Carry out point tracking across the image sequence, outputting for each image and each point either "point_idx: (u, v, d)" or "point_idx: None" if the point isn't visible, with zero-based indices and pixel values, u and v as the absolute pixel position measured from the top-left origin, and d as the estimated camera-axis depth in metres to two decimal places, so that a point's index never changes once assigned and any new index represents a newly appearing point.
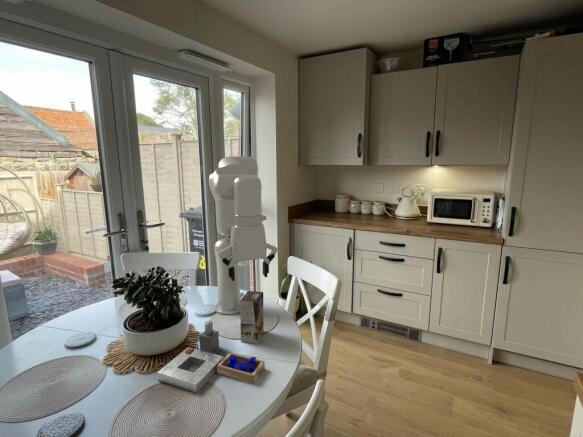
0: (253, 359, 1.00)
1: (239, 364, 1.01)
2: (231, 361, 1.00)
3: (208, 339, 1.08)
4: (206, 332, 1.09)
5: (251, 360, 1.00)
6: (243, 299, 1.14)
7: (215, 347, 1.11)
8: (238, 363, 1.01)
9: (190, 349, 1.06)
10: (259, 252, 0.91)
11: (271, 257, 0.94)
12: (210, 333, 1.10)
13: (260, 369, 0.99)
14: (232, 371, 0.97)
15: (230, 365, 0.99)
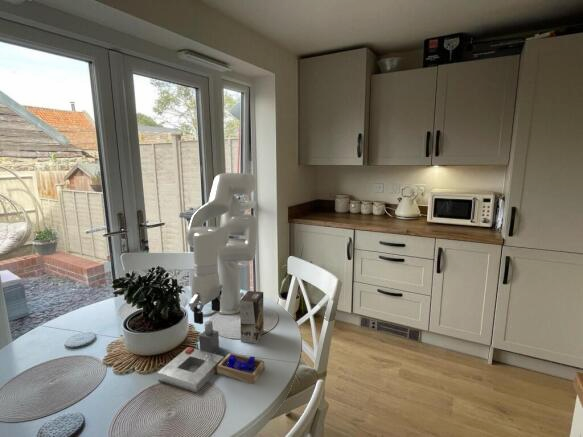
0: (252, 359, 1.00)
1: (238, 363, 1.01)
2: (230, 360, 1.01)
3: (208, 339, 1.08)
4: (206, 332, 1.09)
5: (250, 359, 1.00)
6: (243, 299, 1.14)
7: (215, 347, 1.11)
8: (237, 363, 1.02)
9: (190, 349, 1.06)
10: (217, 292, 1.09)
11: (220, 293, 1.14)
12: (210, 333, 1.09)
13: (260, 369, 0.99)
14: (232, 371, 0.97)
15: (229, 364, 1.00)
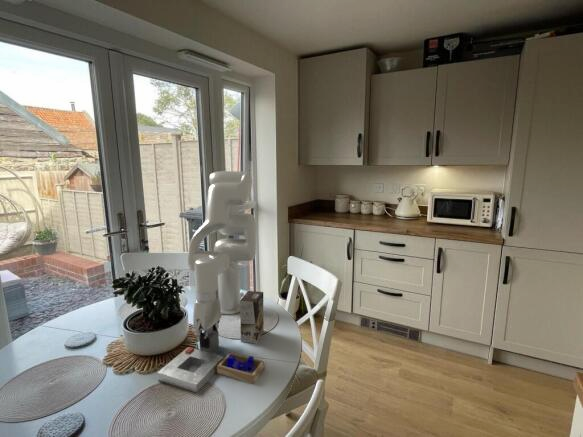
0: (251, 358, 1.00)
1: (237, 363, 1.02)
2: (229, 360, 1.01)
3: None
4: None
5: (249, 359, 1.00)
6: (243, 299, 1.14)
7: (215, 347, 1.11)
8: (236, 362, 1.02)
9: (190, 349, 1.06)
10: (218, 316, 1.11)
11: (218, 322, 1.14)
12: (210, 333, 1.09)
13: (260, 369, 0.99)
14: (232, 371, 0.97)
15: (228, 364, 1.00)
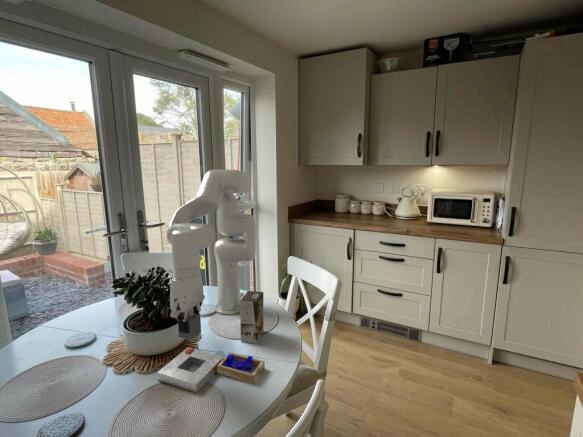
0: (250, 358, 1.01)
1: (235, 362, 1.02)
2: (228, 360, 1.01)
3: (188, 323, 0.94)
4: None
5: (247, 359, 1.00)
6: (243, 299, 1.14)
7: (196, 332, 0.97)
8: (235, 362, 1.02)
9: (190, 349, 1.06)
10: (200, 297, 0.97)
11: (200, 304, 1.00)
12: (190, 316, 0.95)
13: (260, 369, 0.99)
14: (232, 371, 0.97)
15: (227, 364, 1.00)
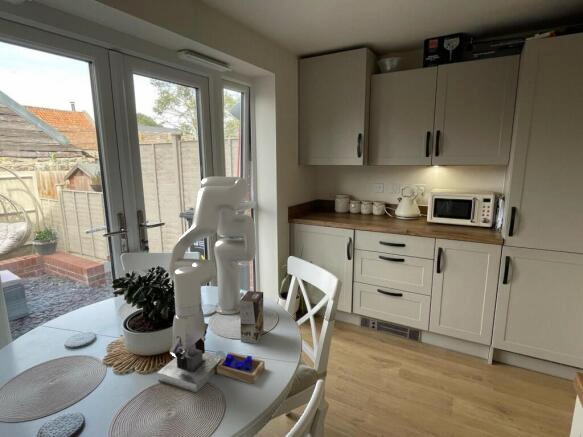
0: (249, 358, 1.01)
1: (235, 362, 1.02)
2: (227, 359, 1.01)
3: (190, 360, 0.96)
4: (188, 352, 0.98)
5: (247, 359, 1.00)
6: (243, 299, 1.14)
7: None
8: (234, 362, 1.02)
9: None
10: (201, 332, 0.99)
11: (204, 333, 1.03)
12: (192, 353, 0.98)
13: (260, 369, 0.99)
14: (232, 371, 0.97)
15: (226, 363, 1.00)
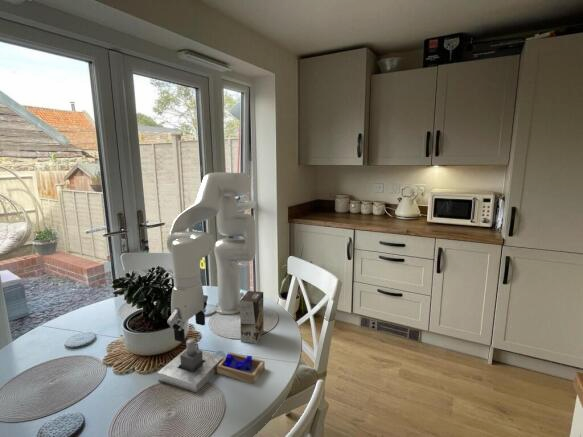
0: (249, 358, 1.01)
1: (235, 362, 1.02)
2: (227, 359, 1.01)
3: (190, 360, 0.96)
4: (188, 352, 0.98)
5: (247, 359, 1.00)
6: (243, 299, 1.14)
7: None
8: (234, 362, 1.02)
9: None
10: (200, 305, 0.98)
11: (205, 305, 1.02)
12: (192, 353, 0.98)
13: (260, 369, 0.99)
14: (232, 371, 0.97)
15: (226, 363, 1.00)
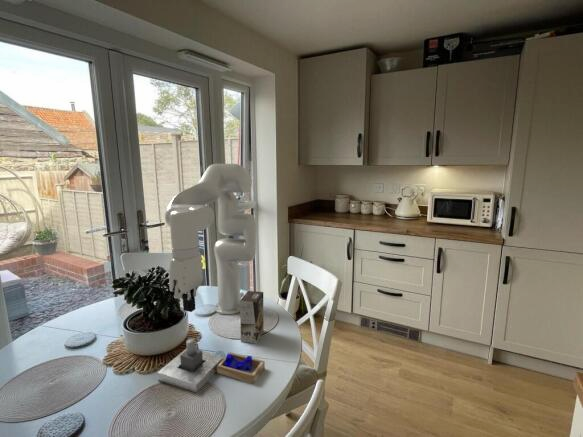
0: (249, 358, 1.01)
1: (235, 362, 1.02)
2: (227, 359, 1.01)
3: (190, 360, 0.96)
4: (188, 352, 0.98)
5: (247, 359, 1.00)
6: (243, 299, 1.14)
7: None
8: (234, 362, 1.02)
9: None
10: (199, 279, 0.96)
11: None
12: (192, 353, 0.98)
13: (260, 369, 0.99)
14: (232, 371, 0.97)
15: (226, 363, 1.00)
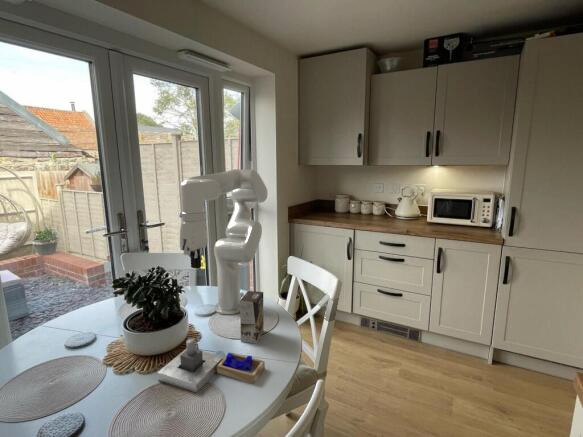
0: (249, 358, 1.01)
1: (235, 362, 1.02)
2: (228, 359, 1.01)
3: (190, 360, 0.96)
4: (188, 352, 0.98)
5: (247, 359, 1.00)
6: (243, 299, 1.14)
7: None
8: (235, 361, 1.02)
9: None
10: (204, 241, 1.14)
11: None
12: (192, 353, 0.98)
13: (260, 369, 0.99)
14: (232, 371, 0.97)
15: (226, 363, 1.01)
